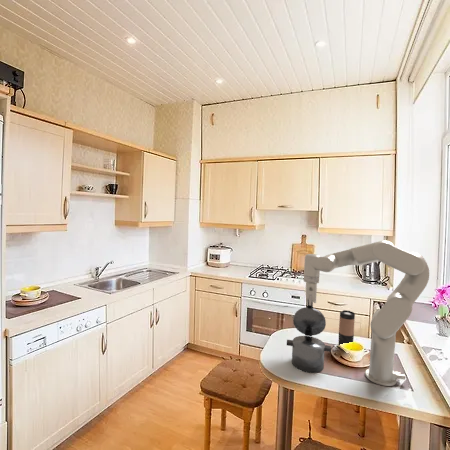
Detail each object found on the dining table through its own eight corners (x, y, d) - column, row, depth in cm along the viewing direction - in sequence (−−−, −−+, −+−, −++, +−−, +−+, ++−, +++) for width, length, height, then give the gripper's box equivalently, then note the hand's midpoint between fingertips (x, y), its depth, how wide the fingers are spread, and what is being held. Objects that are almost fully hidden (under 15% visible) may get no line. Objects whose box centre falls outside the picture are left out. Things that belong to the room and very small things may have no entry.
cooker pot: (328, 358, 151) (329, 337, 150) (330, 376, 135) (332, 353, 134) (287, 352, 157) (288, 332, 156) (284, 368, 141) (285, 346, 140)
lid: (324, 338, 150) (324, 334, 153) (326, 311, 145) (326, 307, 148) (292, 334, 154) (293, 330, 157) (293, 307, 149) (294, 303, 152)
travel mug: (354, 352, 159) (356, 315, 157) (339, 350, 160) (341, 314, 159) (351, 345, 166) (353, 310, 165) (336, 344, 168) (338, 309, 166)
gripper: (319, 283, 142) (317, 320, 143) (318, 276, 156) (316, 310, 157) (303, 281, 144) (301, 318, 145) (304, 274, 158) (302, 308, 160)
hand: (309, 314), depth 151 cm, fingers closed
